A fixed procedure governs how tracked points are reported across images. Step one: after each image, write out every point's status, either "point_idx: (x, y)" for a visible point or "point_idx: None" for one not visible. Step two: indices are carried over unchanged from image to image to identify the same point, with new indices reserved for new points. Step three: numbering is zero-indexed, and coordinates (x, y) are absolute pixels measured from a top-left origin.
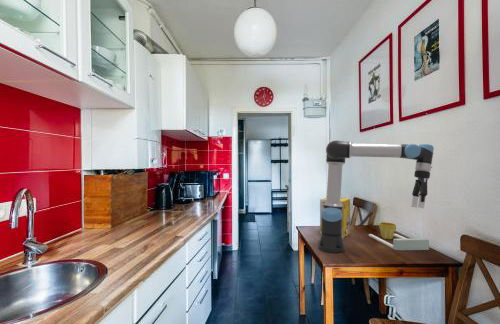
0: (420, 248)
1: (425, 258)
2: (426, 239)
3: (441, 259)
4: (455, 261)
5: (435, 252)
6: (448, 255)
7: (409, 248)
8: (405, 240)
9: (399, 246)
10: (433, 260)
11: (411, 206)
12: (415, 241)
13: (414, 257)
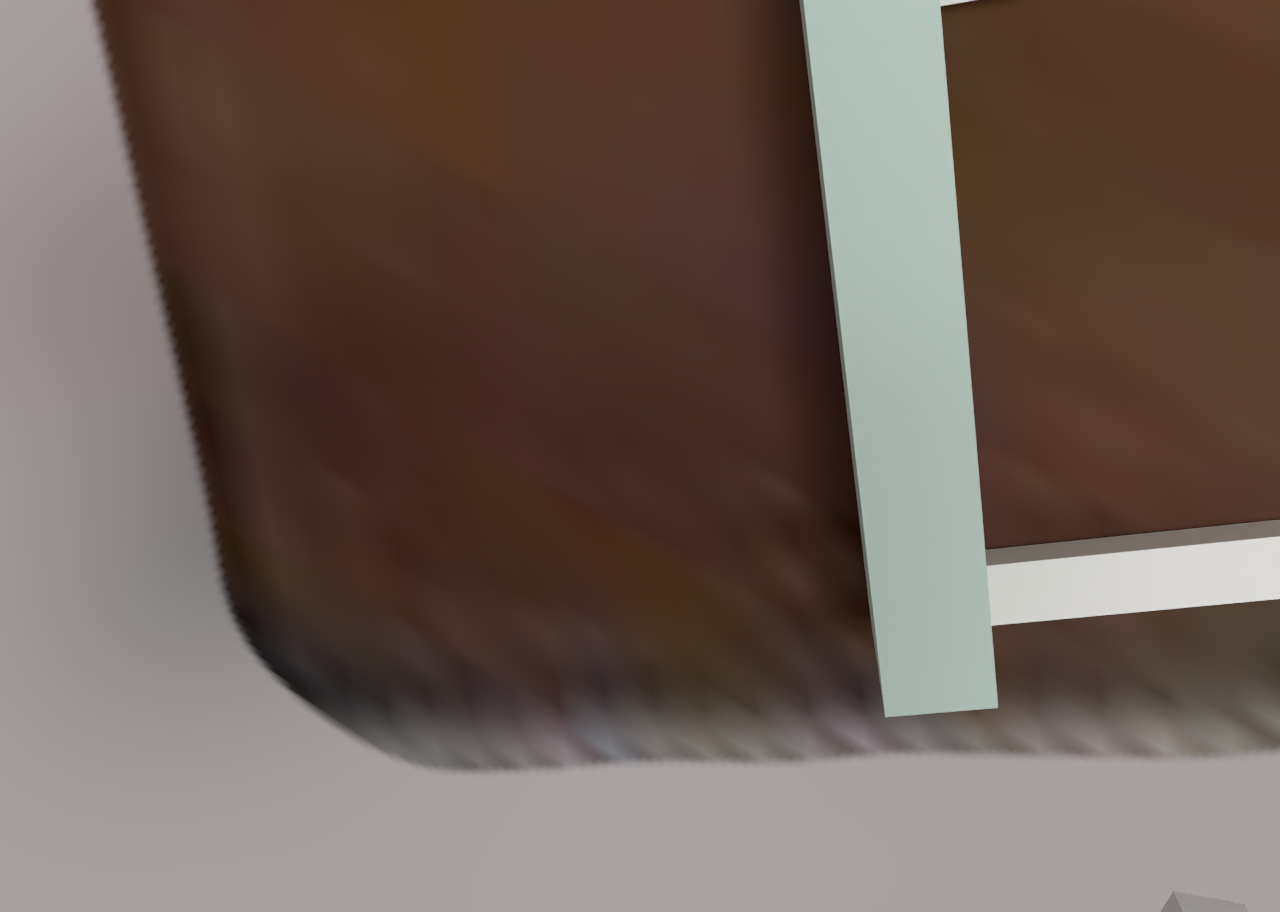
0: (854, 474)
1: (388, 297)
2: (899, 677)
3: (383, 529)
4: (329, 675)
5: (734, 644)
6: (598, 749)
7: (828, 250)
8: (825, 180)
9: (803, 22)
10: (311, 375)
11: (1222, 909)
12: (850, 416)
13: (409, 125)
